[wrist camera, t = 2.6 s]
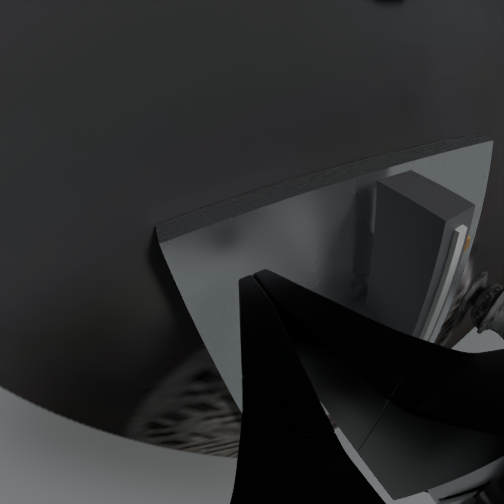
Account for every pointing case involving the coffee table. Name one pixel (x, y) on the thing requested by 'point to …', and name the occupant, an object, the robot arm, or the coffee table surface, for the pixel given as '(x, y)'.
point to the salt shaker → (485, 305)
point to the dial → (414, 253)
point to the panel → (304, 237)
